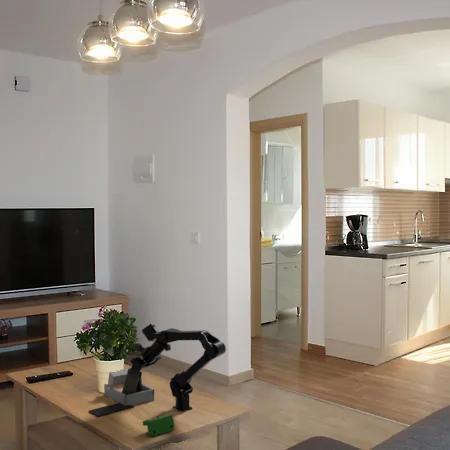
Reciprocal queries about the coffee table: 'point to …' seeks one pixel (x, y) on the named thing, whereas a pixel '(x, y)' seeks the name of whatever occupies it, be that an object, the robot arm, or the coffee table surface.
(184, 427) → the coffee table surface
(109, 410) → the cell phone
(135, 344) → the robot arm
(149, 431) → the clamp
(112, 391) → the flap frame
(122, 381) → the flap
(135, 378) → the phone stand
